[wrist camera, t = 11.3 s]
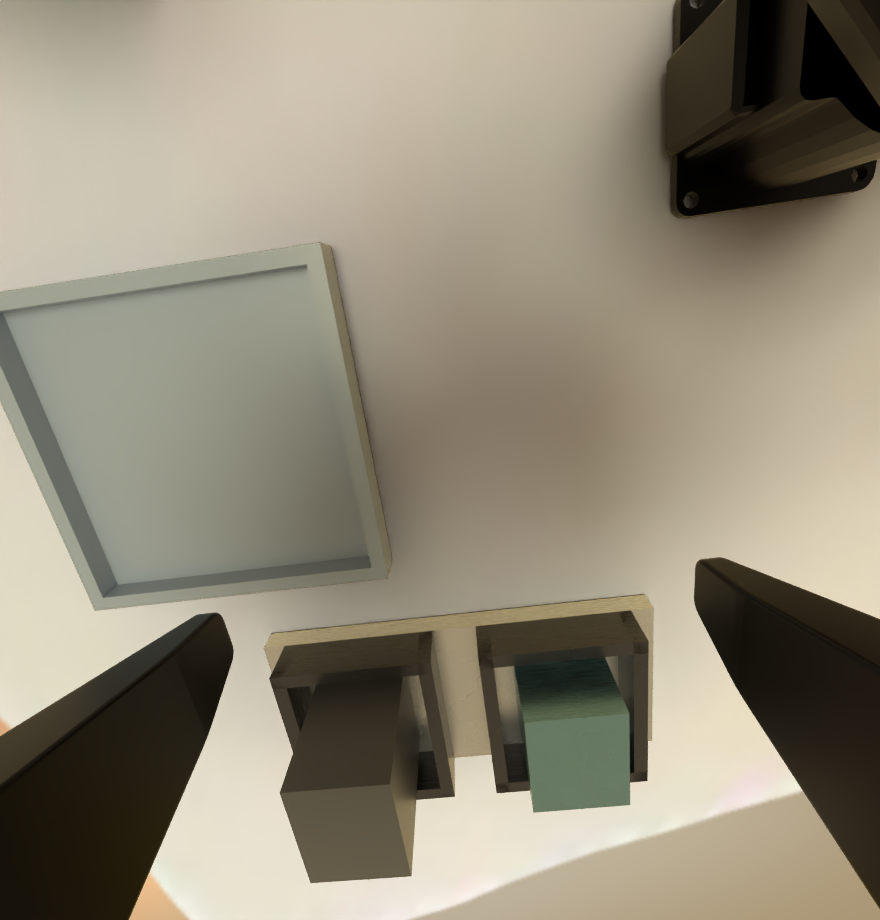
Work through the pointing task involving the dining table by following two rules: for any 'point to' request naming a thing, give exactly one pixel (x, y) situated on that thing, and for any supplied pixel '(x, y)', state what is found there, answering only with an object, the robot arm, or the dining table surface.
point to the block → (355, 781)
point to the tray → (197, 427)
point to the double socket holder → (501, 693)
